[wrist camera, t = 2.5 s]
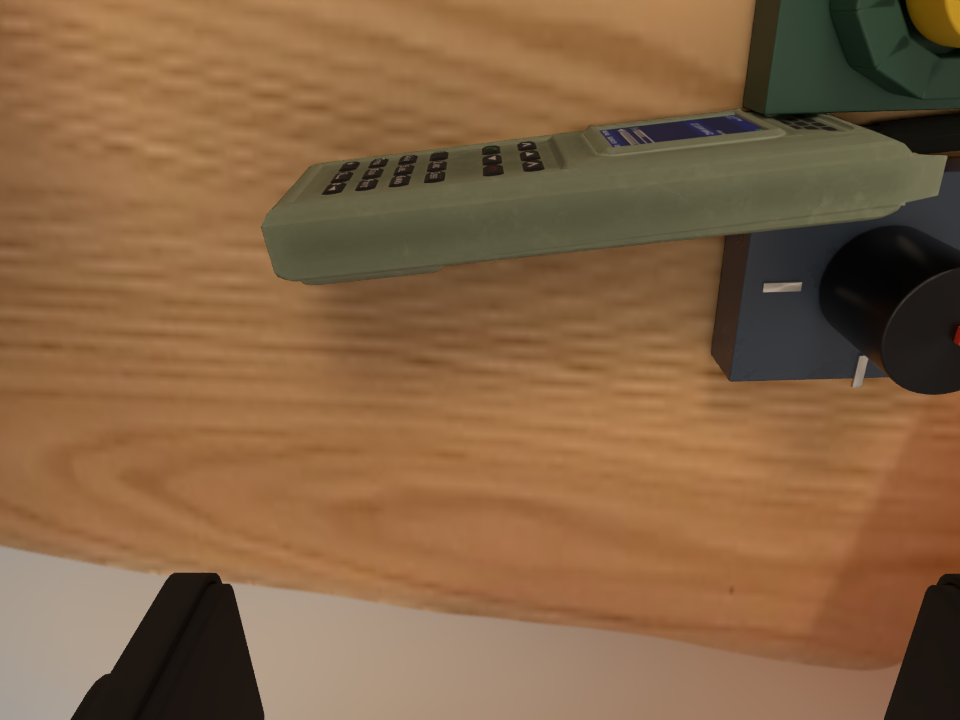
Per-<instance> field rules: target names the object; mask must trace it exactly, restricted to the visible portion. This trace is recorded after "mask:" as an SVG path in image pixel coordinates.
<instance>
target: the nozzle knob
mask: <svg viewBox="0 0 960 720" xmlns="http://www.w3.org/2000/svg"><path fill="white" fill-rule="evenodd" d="M820 304H821V309H822V311H823V314H824V316H825V318H826V320H827V321H828V322H829V323H830V325H831V326H832V327H834V328H835V329H836V330H837V331H838V332H839V333H840V334H841V335H842V336H844V337H845V338H846V339H847V340H848V341H849V342H850V343H851V344H853V345H854V346H855V347H856V348H857V349H858V350H859V351H860V352H861V353H863V354H864V355H865V356H866V357H867V358H868V359H869V360H870V361H872V362H873V363H874V364H875V365H876V366H877V367H878V368H879V369H881V370H882V371H883V372H884V373H885V374H886V375H887V376H888V377H889V378H891V379H892V380H893V381H894V382H895V383H896V384H898V385H899V386H901V387H902V388H905V389H907V390H909V391H912V392H916V393H921V394H930V395H937V394H946V393H952V392H956V391H959V390H960V250H958V249H956V248H954V247H952V246H950V245H948V244H946V243H944V242H942V241H940V240H938V239H936V238H934V237H932V236H930V235H928V234H926V233H924V232H922V231H920V230H918V229H915V228H912V227H907V226H885V227H881V228H877V229H874V230H871V231H868V232H866V233H864V234H862V235H860V236H858V237H856V238H855V239H853V240H852V241H850V242H849V243H848V244H846V245H845V246H844V247H843V248H842V249H841V250H840V251H839V252H838V253H837V254H836V256H835V257H834V258H833V259H832V261H831V262H830V264H829V266H828V267H827V269H826V271H825V274H824V276H823V279H822V282H821V287H820Z"/></svg>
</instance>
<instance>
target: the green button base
mask: <svg viewBox="0 0 960 720" xmlns="http://www.w3.org/2000/svg"><path fill="white" fill-rule="evenodd" d="M743 107H745V108H748V109H751V110H754V111H756V112H759V113H762V114H765V115H776V114H809V113H841V112H873V111H905V110H938V109H960V48H955V47H947V46H942V45H939V44H936V43H933V42H932V41H930V40H928V39H927V38H925V37H924V36H923V35H922V34H921V33H920V32H919V31H918V30H917V29H916V27H915V26H914V24H913V22H912V21H911V18H910V16H909V13H908V10H907V6H906V0H757V1H756V8H755V16H754V24H753V32H752V39H751V47H750V55H749V63H748V70H747V78H746V86H745V94H744V101H743Z"/></svg>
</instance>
